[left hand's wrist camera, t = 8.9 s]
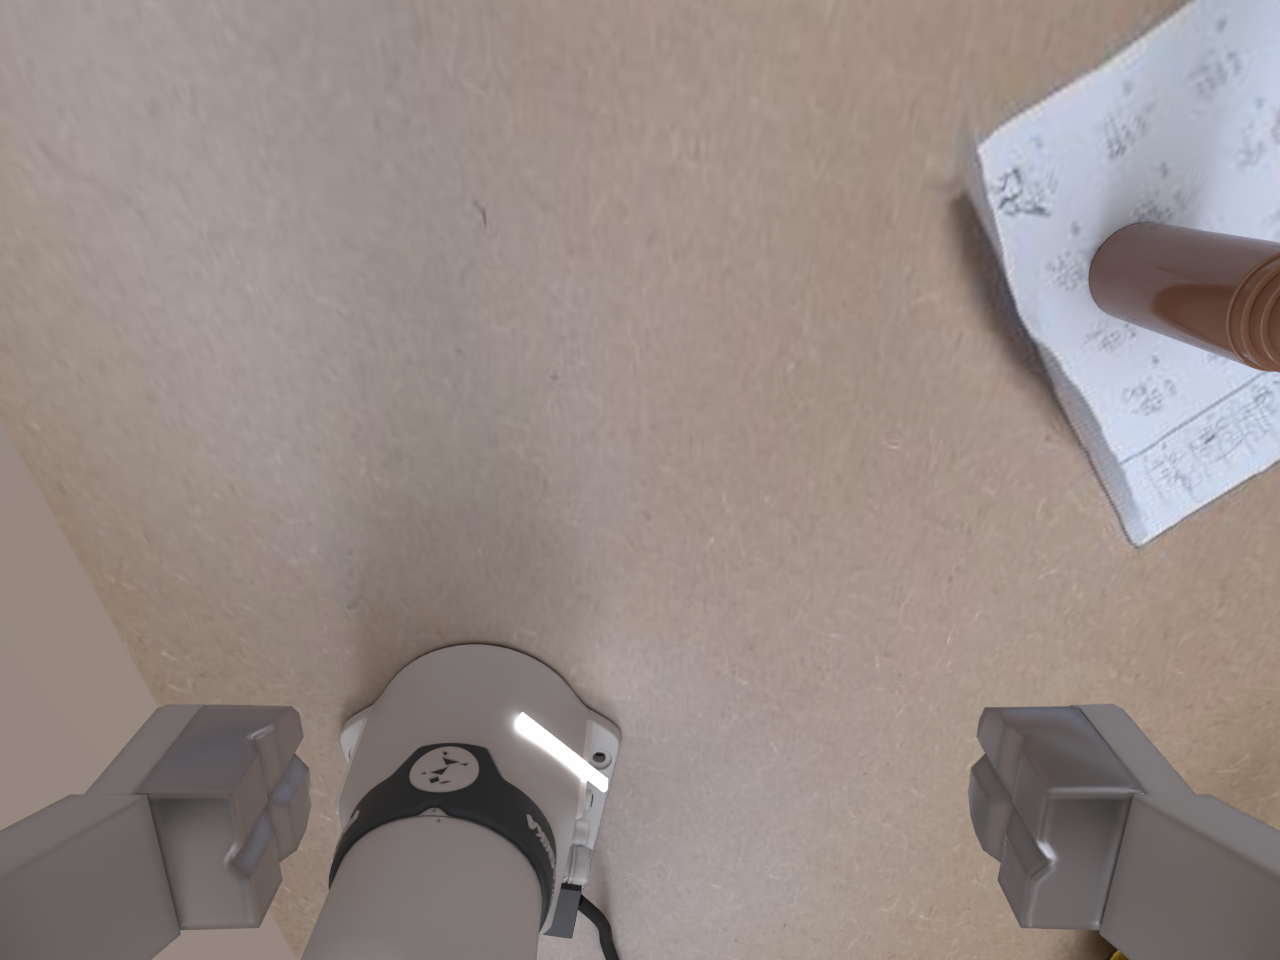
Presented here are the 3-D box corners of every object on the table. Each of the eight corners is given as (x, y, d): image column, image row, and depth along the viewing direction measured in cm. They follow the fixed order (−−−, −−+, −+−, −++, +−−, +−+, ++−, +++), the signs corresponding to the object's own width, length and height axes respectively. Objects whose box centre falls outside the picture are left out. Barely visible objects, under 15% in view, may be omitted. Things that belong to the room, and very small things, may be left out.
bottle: (1095, 223, 49) (1344, 268, 32) (1193, 220, 49) (1495, 262, 32) (1082, 320, 51) (1309, 412, 34) (1176, 317, 51) (1452, 407, 34)
